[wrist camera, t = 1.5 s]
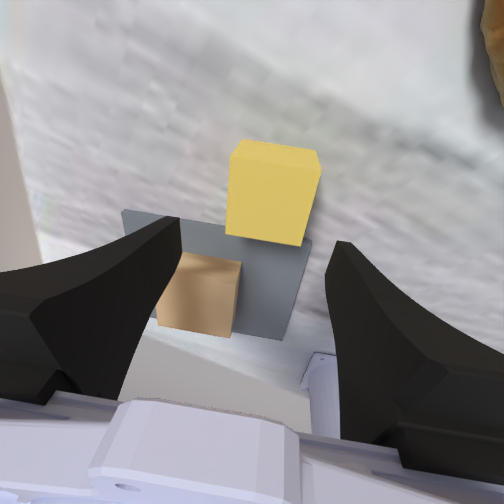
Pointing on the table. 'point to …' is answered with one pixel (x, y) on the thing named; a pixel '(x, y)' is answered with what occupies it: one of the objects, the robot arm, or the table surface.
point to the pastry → (495, 41)
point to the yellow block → (271, 191)
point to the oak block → (201, 295)
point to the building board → (245, 271)
